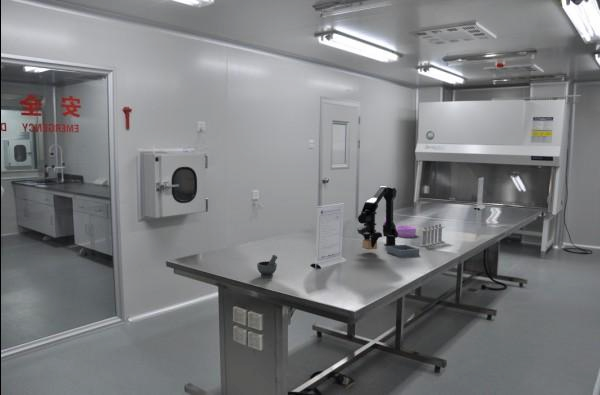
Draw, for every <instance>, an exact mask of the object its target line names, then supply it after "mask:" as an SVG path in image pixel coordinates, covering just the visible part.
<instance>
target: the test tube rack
mask: <svg viewBox="0 0 600 395" xmlns="http://www.w3.org/2000/svg"><path fill="white" fill-rule="evenodd" d="M443 228H446V226H442V223H438V224H433V225H427V226H424V227H423V229H420V230H419V231H420V232H422V244H419V247H422V248H426V247H430V246H435V245H439V244H444V243H445V240H442V238H443V237H442V234H443Z"/></svg>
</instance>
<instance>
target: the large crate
mask: <svg viewBox="0 0 600 395" xmlns="http://www.w3.org/2000/svg"><path fill="white" fill-rule="evenodd" d="M386 247H387V248H386V249H387V250H386V253H388V254H390V253H391V254H390V255H392V256H395V255H396V257H398V258H405V257H407V256H408V257H416V256H415V255H418V256H420V249H419V248H417V247H416V246H411V245H408V244H395V246H386Z"/></svg>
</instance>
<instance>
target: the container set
mask: <svg viewBox="0 0 600 395" xmlns="http://www.w3.org/2000/svg"><path fill="white" fill-rule="evenodd" d="M385 223H386V218H384V219H383V224H382V226H383V225H384V224H385ZM395 226H396V230H397V232H398V237H397V238H415V237H416V234H417V232H416V231H417V228H416V226H412V225H395Z"/></svg>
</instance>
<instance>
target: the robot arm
mask: <svg viewBox="0 0 600 395" xmlns="http://www.w3.org/2000/svg"><path fill="white" fill-rule="evenodd" d="M396 197H397V189H396V188H395V187H388V186H385V185H384V186H382V185H381V186H379V188H378V190H377V191H376V192H375V194H374V195H373V196H372V198H370V199H368V200H366V201H365V202H364V204H363V207H362V210H361V211H360V214H359V215H358V217H357V221H358V223H360V224H363V225H362V226H360V227H357V228H356V231H357V232H358V235H359V234H360V235H362V237H363V240H365V239H371V245H372V247H374V245H375V243H376V241H377V242H378V240H379V238H382V237H386V238H385V244H383V245H384V246H386V247H387V246H395V245H396V238H397V239H398V238H399V237H398V232H397V230H396V226H397V225H396V224H395V222H394V200H395V199H396ZM383 198H384V200H385V219H386V223H385V224H384V225H383V224H382V232H380V231H377V229H376V226H377V223H376V215H377V213H378V212H377V209H378V208H379V203H380V201H381V200H383Z"/></svg>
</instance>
